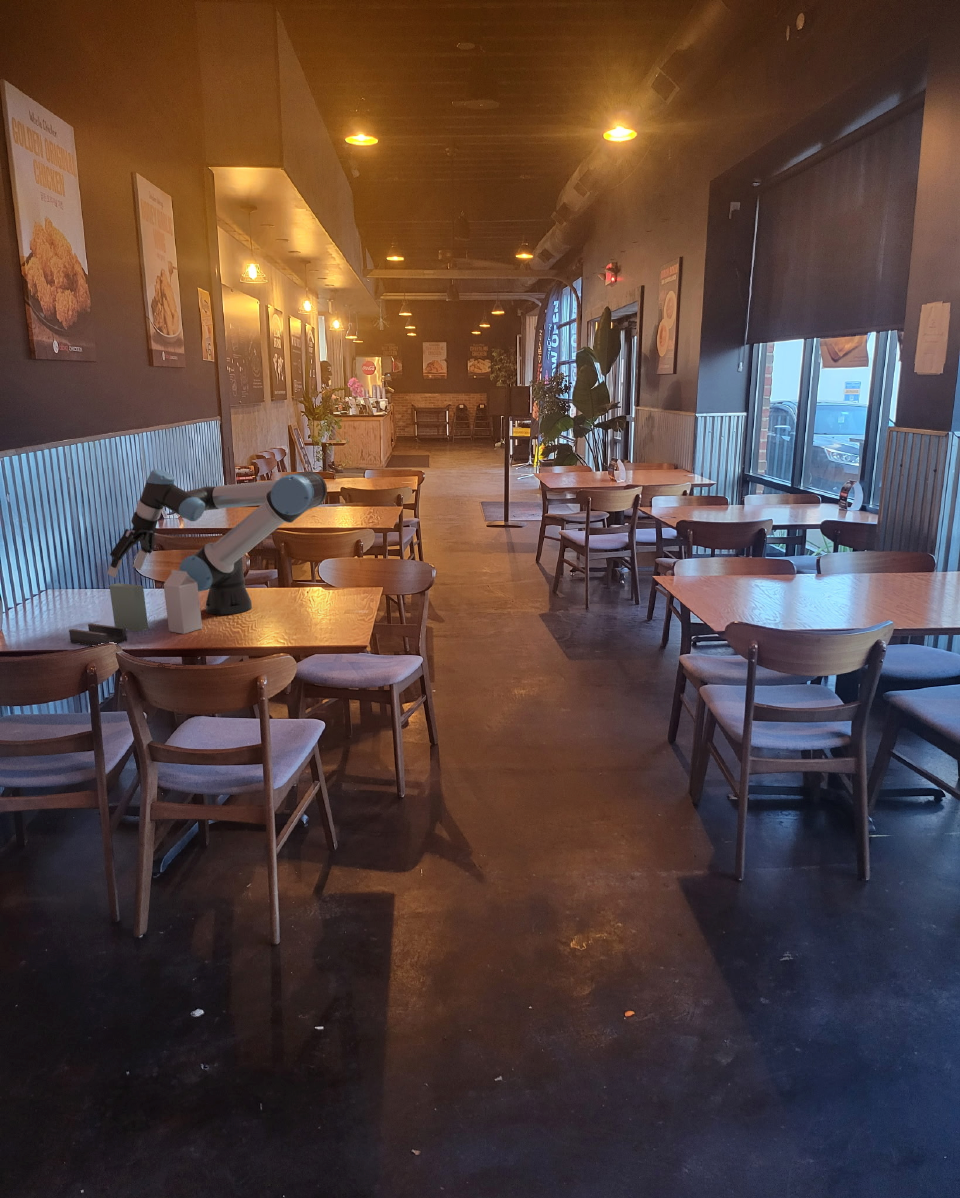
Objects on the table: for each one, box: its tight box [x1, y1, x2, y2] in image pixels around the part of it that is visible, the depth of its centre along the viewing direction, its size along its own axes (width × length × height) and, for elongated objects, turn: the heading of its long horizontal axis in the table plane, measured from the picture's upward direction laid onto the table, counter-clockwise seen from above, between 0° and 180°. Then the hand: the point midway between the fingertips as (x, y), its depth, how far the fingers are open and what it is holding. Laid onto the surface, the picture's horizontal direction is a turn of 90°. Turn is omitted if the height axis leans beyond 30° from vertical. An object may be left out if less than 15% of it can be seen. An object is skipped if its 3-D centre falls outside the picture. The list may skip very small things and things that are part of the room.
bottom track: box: [68, 623, 128, 647], centre depth 255 cm, size 15×8×4 cm, turn 63°
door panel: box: [109, 582, 149, 633], centre depth 268 cm, size 11×4×14 cm, turn 63°
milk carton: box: [163, 569, 203, 635], centre depth 263 cm, size 7×7×19 cm
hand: (124, 571), depth 278 cm, fingers open, 13 cm apart
